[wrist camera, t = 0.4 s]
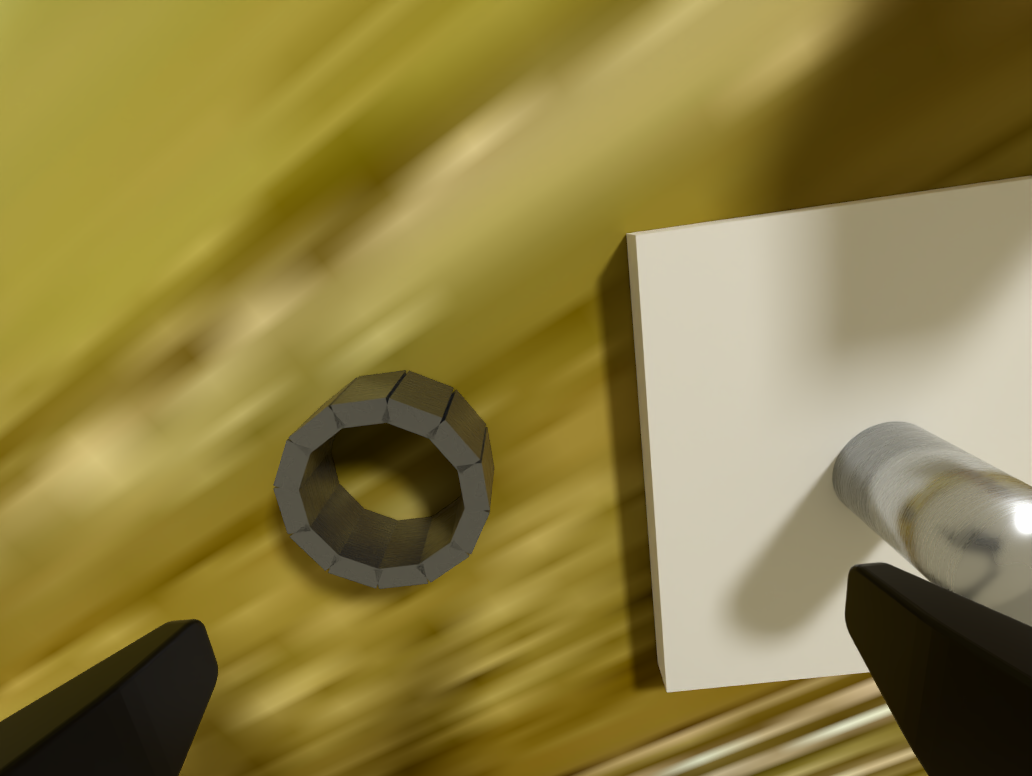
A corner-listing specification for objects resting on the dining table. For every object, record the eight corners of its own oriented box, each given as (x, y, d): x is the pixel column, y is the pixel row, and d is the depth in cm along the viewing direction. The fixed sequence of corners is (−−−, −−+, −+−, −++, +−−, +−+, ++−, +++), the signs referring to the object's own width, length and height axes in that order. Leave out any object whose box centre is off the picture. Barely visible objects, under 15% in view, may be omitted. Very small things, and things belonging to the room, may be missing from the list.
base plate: (1042, 623, 22) (1078, 651, 21) (657, 663, 23) (666, 692, 22) (1136, 160, 17) (1193, 155, 15) (626, 233, 18) (635, 235, 16)
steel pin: (933, 509, 19) (1091, 621, 14) (830, 520, 19) (946, 636, 14) (944, 414, 18) (1121, 498, 13) (834, 428, 18) (963, 516, 13)
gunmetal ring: (503, 526, 21) (501, 575, 18) (335, 545, 21) (307, 596, 18) (476, 360, 19) (468, 387, 16) (290, 385, 19) (250, 415, 16)
